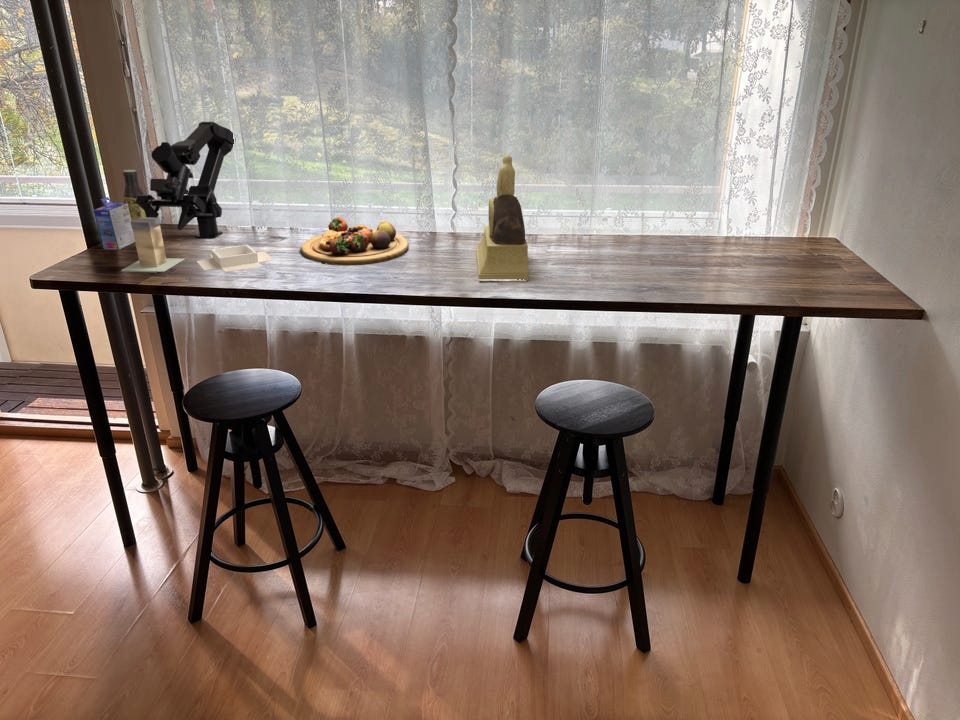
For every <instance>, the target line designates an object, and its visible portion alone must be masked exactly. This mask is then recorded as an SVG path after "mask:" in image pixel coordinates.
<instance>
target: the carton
mask: <svg viewBox="0 0 960 720" xmlns="http://www.w3.org/2000/svg"><path fill="white" fill-rule="evenodd" d="M210 251H211V254H209V257H210V258H207V259H202V260H196V263H197V264H198V265H199V266H200V268H202V270H203V271H209V270H215V269H216V270H217V269H221V270H222V271H223V272H224V273H227V272H228V273H229V272H235V271H242V270H248V269H254V268H261V267H263V265H262V264H261V263H262V262H270V261H275V259H273V258H272V257H271V256H270V255H269V254H268V253H267V252H266V251H263V250H262V251H259V252H258V251H255V249H253V248H252V247H251V246H250V245H248V244H242V245H235V246H227V247H221V248H220V247H219V248H213V249H211V250H210Z"/></svg>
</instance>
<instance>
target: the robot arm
mask: <svg viewBox="0 0 960 720" xmlns="http://www.w3.org/2000/svg"><path fill="white" fill-rule="evenodd" d="M230 130H231V129H230V128H227V127H224V126H222V125H219V124H218V123H216V122H214V121H201V122H199V123H198V126H197V127H196V128H195V129H194V130H193V131H192V132H191V133H190V134H189V135H188V137H187V138H186V139H184V140H182V141H181V140H180V141H177V142H175V143H174V144H171V143H169V141H165V142H163V141H161V144H160V145H158V146H156V147H155V148H154V149H153V150H152V151H151V155H150V156H151V158H152V160H153V161H154V162H155V163H156V164H157V166H158V167H159V168H160V169H161V170H162V172H164V173H165V174H166V175H167V176H166V178H150V180H149V181H150V182H149V183H150V185H149V186H150V187H149V191H151V192H155V193H156V196H157V197H159V198H154V196H152V194H144V195H138V196H137V198H136V201H135V202H136V203H137V204H138V205H139V206H140V207H141V208H142V209H143V210H144V211H145V214H146V217H150V218H159V217H158V216H159V211H160V207H163V208H164V207H167V208H168V207H169V208H181V212H180V215H179V220H178V223H177V230H178V231H179V232H180V231H182V230H183V229H184V228H185V227H186V226H187V225H188V224H189V223H190V222H191V221H192V220H194V218H196V220H197V227H198V234H195V236H194V237H195V238H200V239H201V238H206V239H215V238H217V237H218V235H219V236H220V235H222V234H223V232H224V231H219V230H218V229H219V228H218V222H217V218H221V217H222V215H223V208H222V207H221V205H220V204H219V203H218V202H217V200H218V199H217V197H216V195H215V193H214V192H215V188H216V185H217V182H218V179H219V174H220V171H221V169H222V164H223V162H224V158H225V156H227V155H228V154H229V153H230V152H232V151H233V148H234V146H233V144H234V139H233V133H234V132H233V131H232V130H231V131H230ZM206 145H207V148H208V150H207V151H208V152H207V155H206V158H205V161H204V164H203V167H202V170H201V174H200V177H199V180H198V183H197V185H191V186H189V187H188V183H189V179H194V175H193V173H192V170H191V168H189V167H188V165H189V166H195V165H196V164H197V163H198V162H199V160H200V158H201V154H200V153H201V152H200V151H201V150H202V149H203V148H204V147H205V146H206ZM234 145H235V144H234ZM187 187H188V188H187ZM221 233H222V234H221Z"/></svg>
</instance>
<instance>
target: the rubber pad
mask: <svg viewBox="0 0 960 720" xmlns="http://www.w3.org/2000/svg"><path fill="white" fill-rule="evenodd" d="M166 260H167V262H166V263H164V264H162V265H160V266H159V267H140V262H139V260H137V261H135V262H133V263H131V264H130V265H128V266H126V267H124V268H123V269H121V272H126V273H128V272H131V273H157V272H162V273H165V271H168V270H169V269H171V268H172V267H174V266H176V265H177V264H179V263H181V262H182V261H184V260H185V258H176V257H175V258H174V257H173V258H169V257H168V258H167V257H166Z"/></svg>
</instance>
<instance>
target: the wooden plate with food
mask: <svg viewBox="0 0 960 720" xmlns="http://www.w3.org/2000/svg"><path fill="white" fill-rule="evenodd" d="M327 227H328V230H326V231H324V232H323V233H322V234H319V235H316V236H314V237H311V238H309V239H307V240H306V241H304V242H303V243H302V245H301V247H300V252H301V255H302V256H304V258H306V259H309V260H311V261H314V262H317V263H318V262H319V263H320V262H321V264H325V263H327V264H326V265H334V264H338V265H339V266H357V265H359V266H360V265H369V264H377V263H382V262H388V261H391V260H394V259H397V258H400V257H401V256H403V255H405V253H406V252H407V251H408V250H409V248H410V246H409V245H410V243H409V241H408V240H407V239H406V238H405V237H403V236H402V235H400V234H398V233H397V231H396V229H395V227H394V225H393V224H391V222H389V221H387V220H381V222H380V223H379V224H378V225H377V227H376V229H372V228H368V227H367V226H366V225H364V224H358V225H357V224H356V225H354V226H352V227H348V223H347V222H346V220H345V219H344V218H343V217H341V216H337V217H334V218H332V221H329V224H328V226H327ZM399 256H400V257H399ZM338 265H337V266H338Z"/></svg>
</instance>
